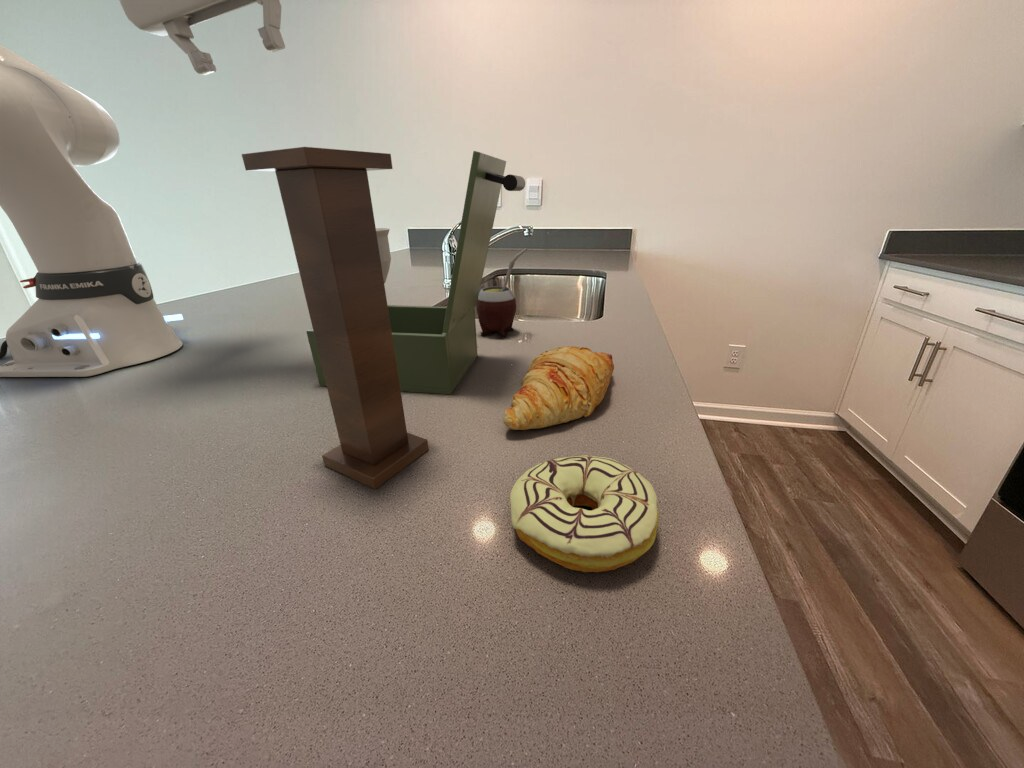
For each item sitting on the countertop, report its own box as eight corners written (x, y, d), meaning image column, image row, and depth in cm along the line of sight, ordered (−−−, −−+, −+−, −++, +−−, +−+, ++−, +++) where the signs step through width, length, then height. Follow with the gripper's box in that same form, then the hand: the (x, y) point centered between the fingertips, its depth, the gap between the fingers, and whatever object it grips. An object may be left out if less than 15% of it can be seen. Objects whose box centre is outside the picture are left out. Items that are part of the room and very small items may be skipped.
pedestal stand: (324, 465, 39) (241, 153, 28) (380, 431, 44) (329, 159, 33) (375, 489, 35) (304, 146, 24) (429, 449, 41) (390, 153, 30)
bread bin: (319, 386, 55) (305, 331, 52) (368, 350, 67) (360, 304, 64) (450, 394, 52) (445, 336, 49) (477, 356, 64) (474, 307, 61)
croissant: (529, 475, 42) (561, 429, 37) (465, 410, 45) (486, 359, 40) (621, 396, 57) (653, 355, 51) (567, 352, 60) (592, 308, 54)
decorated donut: (532, 471, 37) (533, 436, 36) (655, 494, 34) (661, 457, 33) (491, 559, 28) (489, 518, 27) (652, 602, 25) (661, 558, 24)
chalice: (398, 338, 72) (382, 231, 65) (360, 339, 73) (340, 232, 65) (408, 326, 79) (394, 227, 71) (373, 326, 79) (356, 228, 72)
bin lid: (473, 150, 40) (515, 161, 39) (501, 159, 52) (533, 168, 51) (442, 332, 48) (476, 342, 48) (472, 304, 61) (499, 312, 60)
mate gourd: (473, 330, 76) (467, 246, 69) (511, 324, 79) (509, 243, 72) (487, 342, 70) (482, 251, 63) (528, 335, 72) (528, 247, 66)
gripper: (56, -92, 39) (143, 81, 45) (231, -178, 35) (300, 27, 41) (119, -61, 45) (190, 89, 51) (277, -132, 40) (333, 42, 47)
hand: (240, 61), depth 46 cm, fingers open, 8 cm apart
